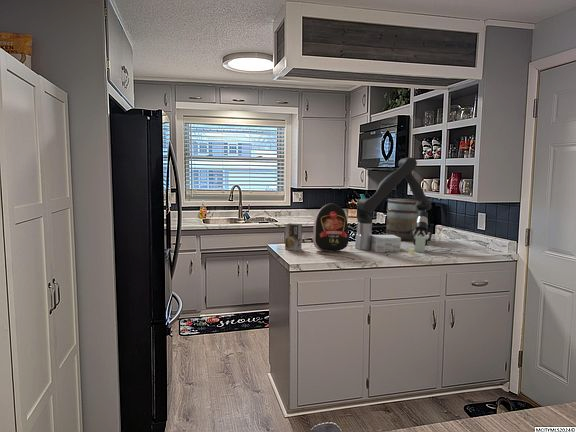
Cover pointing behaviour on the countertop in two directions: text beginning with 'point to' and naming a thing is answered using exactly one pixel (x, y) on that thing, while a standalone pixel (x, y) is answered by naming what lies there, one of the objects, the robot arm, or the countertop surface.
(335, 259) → the countertop surface
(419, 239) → the grey rectangular block
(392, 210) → the barrel
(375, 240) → the supplement box
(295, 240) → the coffee box
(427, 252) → the mat
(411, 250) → the butter plate
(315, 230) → the packaged food
